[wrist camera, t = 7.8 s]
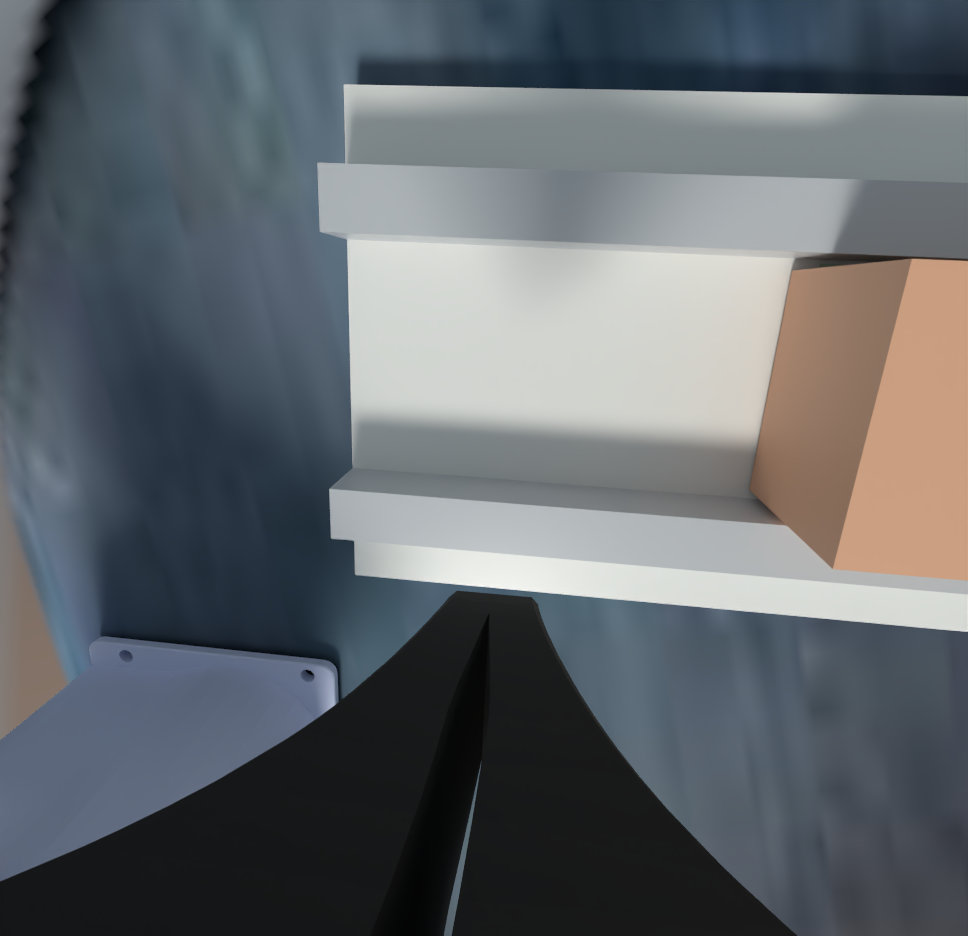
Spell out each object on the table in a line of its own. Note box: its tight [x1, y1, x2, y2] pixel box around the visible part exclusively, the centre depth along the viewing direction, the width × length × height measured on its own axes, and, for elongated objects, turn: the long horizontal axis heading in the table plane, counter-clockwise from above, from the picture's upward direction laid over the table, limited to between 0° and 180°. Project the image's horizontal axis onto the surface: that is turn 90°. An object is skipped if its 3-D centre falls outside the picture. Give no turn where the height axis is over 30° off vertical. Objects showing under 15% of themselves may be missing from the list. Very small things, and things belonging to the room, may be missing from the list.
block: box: [749, 259, 968, 581], centre depth 13 cm, size 5×6×5 cm
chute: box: [317, 84, 968, 632], centre depth 15 cm, size 20×14×4 cm
